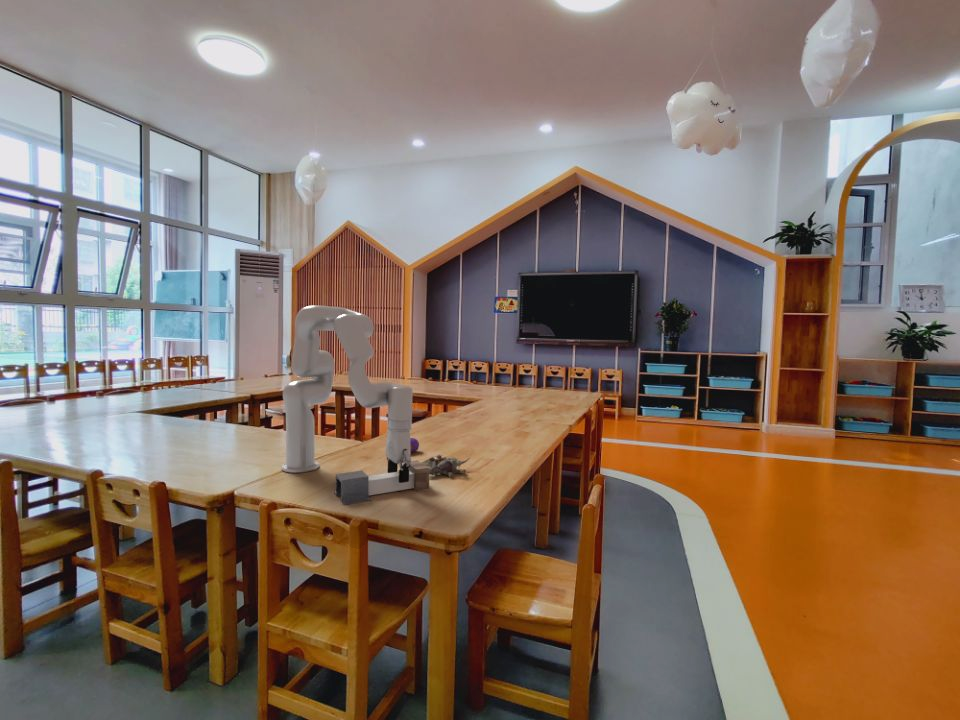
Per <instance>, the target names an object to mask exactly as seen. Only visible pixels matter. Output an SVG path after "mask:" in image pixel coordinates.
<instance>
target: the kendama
mask: <svg viewBox="0 0 960 720" xmlns="http://www.w3.org/2000/svg"><path fill="white" fill-rule="evenodd" d="M419 447H420V443H419V440H417V439H416V438H414V437H410V454H411V453H416V452H417V450H419ZM386 460H387V462H388V457H387V456H386Z"/></svg>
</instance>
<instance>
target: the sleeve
mask: <svg viewBox="0 0 960 720" xmlns="http://www.w3.org/2000/svg"><path fill="white" fill-rule="evenodd" d="M369 476H370V475H368V474H366V472H364V471H363V470H355V471H348V472H341V473H335V491H333V494H334V495H335V496H336V497H339V496H340V502H341V504H342V505H343V506H347V505H353V504H360V503H364V502H365V503H366V502H371V501H372V498H370V496H368V477H369Z"/></svg>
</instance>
